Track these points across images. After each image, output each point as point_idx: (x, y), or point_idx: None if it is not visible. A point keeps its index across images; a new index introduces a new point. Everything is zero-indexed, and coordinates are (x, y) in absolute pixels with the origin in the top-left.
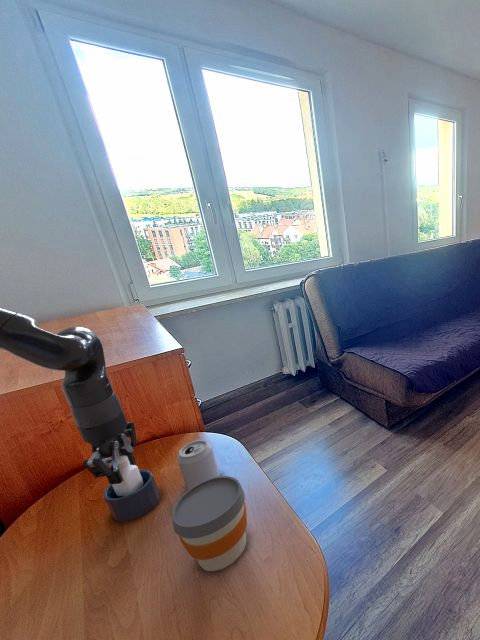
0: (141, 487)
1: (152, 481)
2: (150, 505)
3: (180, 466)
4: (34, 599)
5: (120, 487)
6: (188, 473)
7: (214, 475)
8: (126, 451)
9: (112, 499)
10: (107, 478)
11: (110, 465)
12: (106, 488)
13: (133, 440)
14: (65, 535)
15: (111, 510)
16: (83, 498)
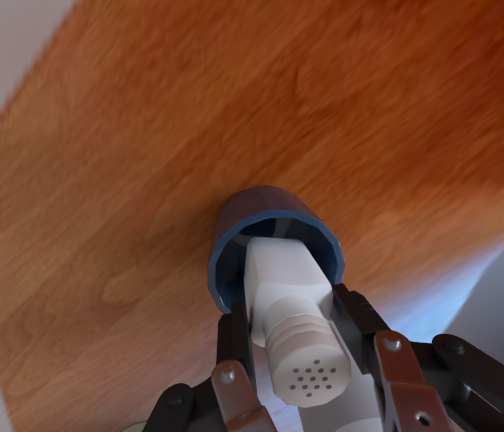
0: (311, 228)
1: None
2: None
3: (318, 416)
4: (8, 191)
5: (248, 286)
6: (301, 411)
7: None
8: (379, 381)
9: (210, 273)
10: (217, 345)
11: (278, 358)
12: (262, 213)
13: (461, 422)
14: (171, 108)
15: (216, 228)
16: (306, 41)
